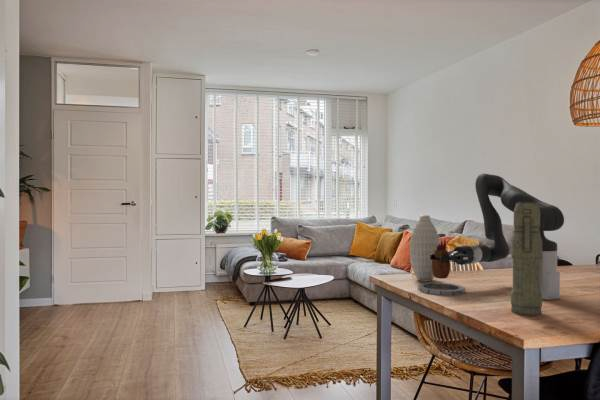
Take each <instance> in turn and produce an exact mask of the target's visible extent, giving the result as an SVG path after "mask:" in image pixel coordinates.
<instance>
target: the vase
mask: <svg viewBox="0 0 600 400" xmlns="http://www.w3.org/2000/svg"><path fill="white" fill-rule="evenodd" d="M439 243H440V244H441V241H440V237H439V234H438V231H437V229H436V227H435V225H434V224H433V222H432V221H431V218H430V215H427V214H426V215H425V214H424V215H423V214H421V215H420V217H419V220H418V222H417V223H416V225H415V227H414V228H413V230H412V233H411V235H410V242H409V260H410V266H411V268H412V271H413V274H414V276H415V278H416V279H417V281H419V282H432V281H433V279H434V278H435V277H434V275H433V271H432V261H433V260H431V259H430V254H434V252H435V250H436V249H437V245H438V246H439Z"/></svg>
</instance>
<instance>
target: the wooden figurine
mask: <svg viewBox="0 0 600 400" xmlns="http://www.w3.org/2000/svg"><path fill="white" fill-rule="evenodd" d="M446 242H447V241H446V238H445V239H444V241H443V240H441V241H440V243H439V246H438V245H437V249H436V250H435V252H434V256H435V259H433V261H432V271H433V275H434V278H437V279H446V278H448V277H449V274H450V272H451V262H450V261H444V262H441V261H440V256H443V255H448V253H447V251H448V250H447V249H446V248H447V245H446V244H447V243H446Z"/></svg>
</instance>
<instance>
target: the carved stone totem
mask: <svg viewBox="0 0 600 400" xmlns="http://www.w3.org/2000/svg"><path fill="white" fill-rule="evenodd" d="M539 227H540V209H539V206H538V203H535V202H519V203H516V206H515V209H514V212H513V234H512V238H511V247H510V248H511V250H510V253H511V254H510V256H511V258H512V287H511V291H510V304H511V305H510V306H511V309H510V311H511V313H513V314H516V315H520V316H525V317H526V316H527V317H537V316H541V315H542V307H543V299H542V294H541V291H540V261H541V259H542V239H541V236H540V231H539Z"/></svg>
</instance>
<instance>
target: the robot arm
mask: <svg viewBox="0 0 600 400" xmlns="http://www.w3.org/2000/svg"><path fill="white" fill-rule="evenodd" d="M474 187H475V192H476V195H477V198H478V202H479V203H478V204H479V206H480V211H481V213H482V218H483V226H484V235H485V236H484V237H485V238H486V239H487V240H491V241H494V243H491V244H488V245H485V244H467V245H466V244H465V245H458V246H455V247H454V248H453V250H446V251H447V253H448V255H443V256H440V261H441V262H444V261H449V262H450V263H451V262H453V263H456V264H457V265H460V266H463V265H464V266H465V265H471V264H477V263H484V262H485V263H492V262H497V261H500V260H502V259H503V260H504V259H506V258H507V257H508V256H509V254H510V247H509V243H508V242H507V240H506V237H505V235H504V231H503V224H502V219H501V217H500V214H499V212H498V211H497V209H496V208H495V206H494V205H493V204H492V202H491V199H490V196H492V197H498V198H500V201H501V202H500V203H501V204H502V205H503V206H504V207H505V208H506V209H508V210H509V211H511V212H513V213H514V209H515V206H516V203H519V202H535V203H538V206H539V209H540V227H539V231H540V236H541V239H542V259H541V261H540V291H541V294H542V300H547V301H552V300H553V301H554V300H558V299H560V291H561V288H560V283H561V282H560V281H561V280H560V279H561V276H560V275H561V274H560V271H558V244H557V242H556V241H553V240H550V239H548V238H547V237H546V235H545V232H554V231H558V230H560V229H562V227H563V225H564V224H565V216H564V214H563V212H562V210H561V209H560V208H559V207H558V206H555V205H553V204H549V203H547V202H545V201H542V200H540V199H539V198H537V197H535V196H533V195H531V194H530V193H528V192H526V191H525V190H523V189H521V188H520V187H517V186H514V185H512V184H510V183H509V182H508V180H505V179H504V178H503V177H502V176H499V175H497V174H489V173H480V174H479V175H478V176H477V177H476V179H475V186H474ZM430 259H431V260H433V259H435V256H434V254H430Z"/></svg>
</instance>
